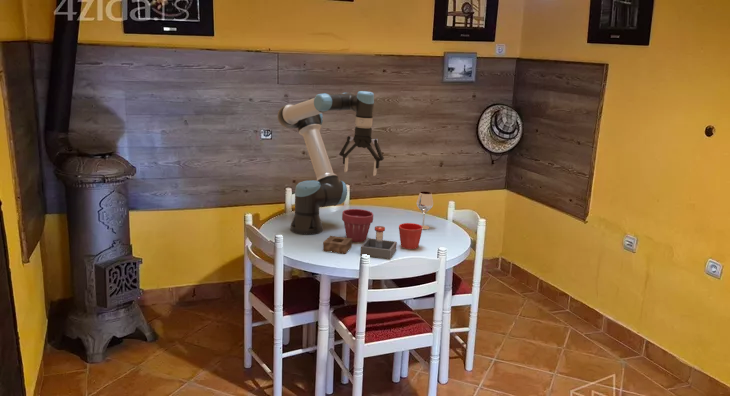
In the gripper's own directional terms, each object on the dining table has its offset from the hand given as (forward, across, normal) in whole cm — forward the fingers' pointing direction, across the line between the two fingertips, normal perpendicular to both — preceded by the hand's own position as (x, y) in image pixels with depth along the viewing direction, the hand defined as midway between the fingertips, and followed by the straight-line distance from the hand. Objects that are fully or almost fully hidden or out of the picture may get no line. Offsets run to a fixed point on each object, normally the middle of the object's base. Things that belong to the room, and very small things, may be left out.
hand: (360, 173), depth 276 cm
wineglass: (+31, +26, +31) cm, 51 cm away
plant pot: (+31, +1, -2) cm, 31 cm away
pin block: (+31, -3, -19) cm, 36 cm away
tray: (+30, +15, -17) cm, 38 cm away
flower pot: (+30, +26, -2) cm, 40 cm away
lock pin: (+30, +15, -17) cm, 37 cm away
